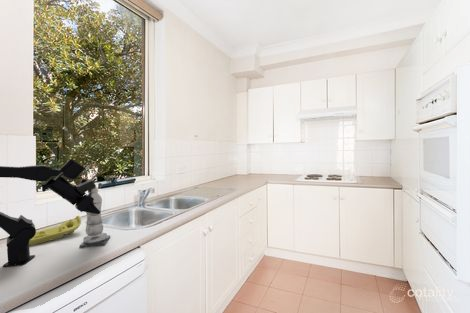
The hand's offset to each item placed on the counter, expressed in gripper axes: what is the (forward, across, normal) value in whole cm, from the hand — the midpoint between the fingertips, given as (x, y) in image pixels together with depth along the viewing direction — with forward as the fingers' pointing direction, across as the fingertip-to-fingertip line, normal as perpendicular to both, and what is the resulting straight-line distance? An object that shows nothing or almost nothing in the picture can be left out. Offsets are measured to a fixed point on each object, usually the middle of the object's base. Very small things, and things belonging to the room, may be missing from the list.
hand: (97, 211), depth 101 cm
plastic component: (0, +20, +18) cm, 28 cm away
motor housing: (+8, 0, +10) cm, 13 cm away
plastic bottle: (+6, 0, +8) cm, 10 cm away
